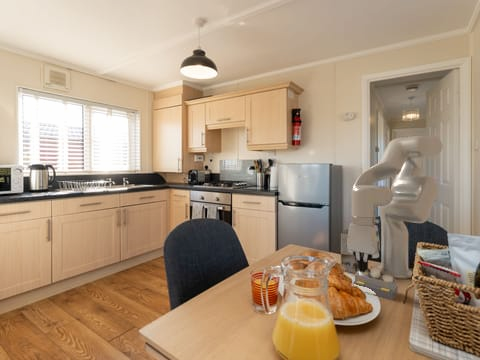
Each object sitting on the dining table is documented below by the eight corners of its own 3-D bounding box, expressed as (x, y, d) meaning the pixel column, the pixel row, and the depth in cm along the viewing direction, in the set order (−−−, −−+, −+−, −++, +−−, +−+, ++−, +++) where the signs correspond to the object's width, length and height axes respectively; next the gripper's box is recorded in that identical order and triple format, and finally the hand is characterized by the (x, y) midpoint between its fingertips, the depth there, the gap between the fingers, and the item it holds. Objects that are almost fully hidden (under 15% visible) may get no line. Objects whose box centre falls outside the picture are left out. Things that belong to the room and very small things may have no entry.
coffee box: (356, 273, 106) (356, 235, 106) (340, 270, 110) (340, 233, 110) (361, 267, 114) (361, 230, 113) (346, 264, 118) (346, 229, 117)
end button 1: (384, 283, 91) (384, 274, 91) (393, 286, 89) (393, 276, 89) (381, 286, 89) (381, 276, 88) (391, 289, 87) (391, 279, 86)
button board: (360, 282, 98) (360, 269, 98) (397, 292, 90) (397, 278, 90) (353, 288, 93) (353, 275, 93) (392, 300, 85) (392, 285, 85)
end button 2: (360, 277, 96) (360, 268, 96) (369, 279, 94) (369, 270, 94) (357, 280, 94) (357, 270, 94) (366, 282, 92) (366, 273, 92)
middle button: (372, 275, 93) (371, 265, 93) (381, 277, 91) (381, 267, 91) (369, 277, 91) (369, 268, 91) (378, 280, 89) (378, 270, 89)
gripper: (388, 222, 91) (388, 273, 91) (346, 217, 101) (346, 263, 102) (382, 225, 85) (382, 280, 86) (338, 220, 96) (338, 268, 96)
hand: (362, 270), depth 94 cm, fingers closed
